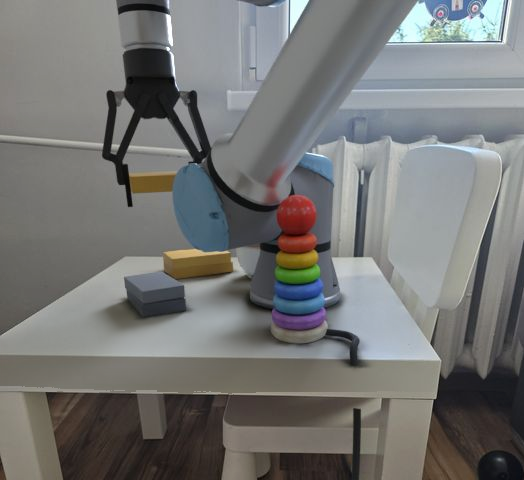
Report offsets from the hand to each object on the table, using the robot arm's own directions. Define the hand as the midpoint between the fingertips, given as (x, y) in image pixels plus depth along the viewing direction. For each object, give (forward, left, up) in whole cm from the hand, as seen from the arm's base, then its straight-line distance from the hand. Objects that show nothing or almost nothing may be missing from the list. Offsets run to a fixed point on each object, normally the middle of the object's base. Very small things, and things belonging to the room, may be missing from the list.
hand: (163, 204), depth 83 cm
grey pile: (-5, +4, -15) cm, 17 cm away
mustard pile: (+13, -10, -15) cm, 22 cm away
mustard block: (0, 0, +2) cm, 2 cm away
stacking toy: (-28, -10, -16) cm, 34 cm away
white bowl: (+3, -20, -16) cm, 25 cm away
